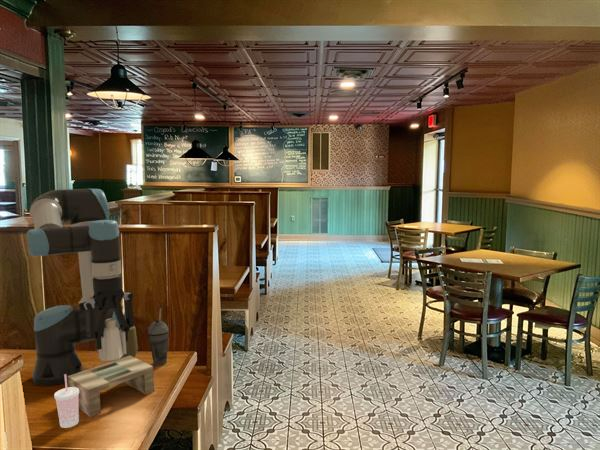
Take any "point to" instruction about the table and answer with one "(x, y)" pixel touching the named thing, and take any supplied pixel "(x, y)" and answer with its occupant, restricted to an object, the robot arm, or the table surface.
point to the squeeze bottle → (131, 342)
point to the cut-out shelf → (110, 381)
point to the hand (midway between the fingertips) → (112, 355)
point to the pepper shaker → (112, 340)
